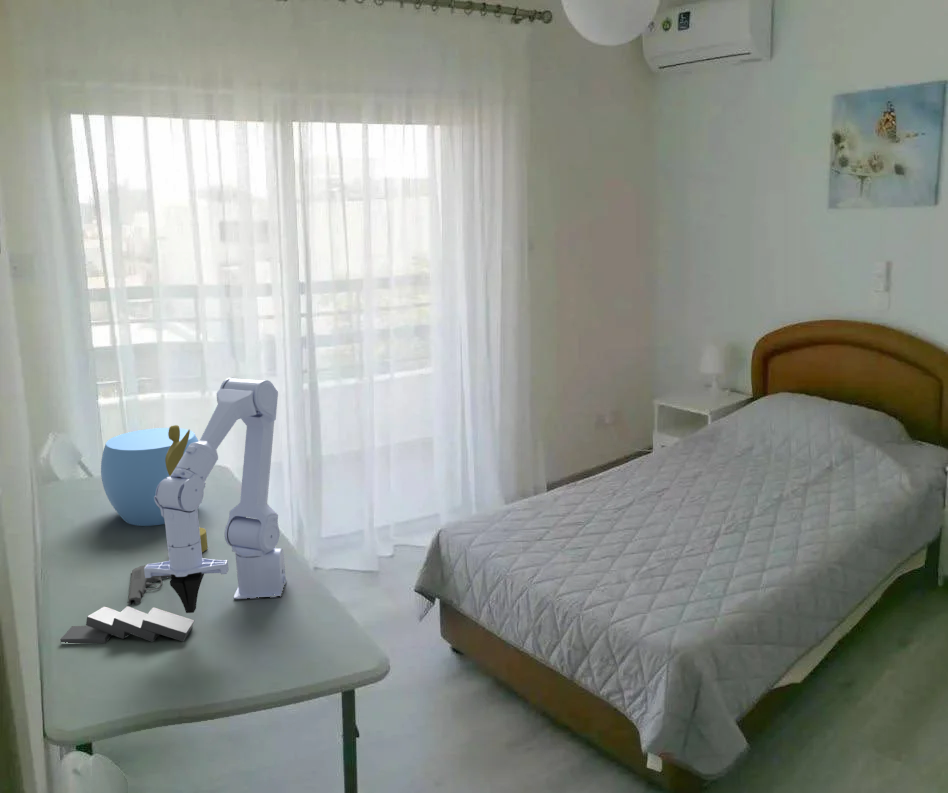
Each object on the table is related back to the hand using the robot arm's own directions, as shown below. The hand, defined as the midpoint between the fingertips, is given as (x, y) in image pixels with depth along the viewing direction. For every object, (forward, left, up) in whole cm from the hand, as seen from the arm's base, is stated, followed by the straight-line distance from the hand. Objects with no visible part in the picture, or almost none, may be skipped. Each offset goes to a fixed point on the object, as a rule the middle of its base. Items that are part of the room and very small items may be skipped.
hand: (191, 610), depth 154 cm
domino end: (+15, 0, -4) cm, 16 cm away
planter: (+25, -66, -5) cm, 71 cm away
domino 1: (+11, -1, -4) cm, 12 cm away
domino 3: (+1, +1, -4) cm, 4 cm away
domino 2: (+6, 0, -4) cm, 7 cm away
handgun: (+13, -23, -5) cm, 27 cm away
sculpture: (+10, -40, -5) cm, 42 cm away
